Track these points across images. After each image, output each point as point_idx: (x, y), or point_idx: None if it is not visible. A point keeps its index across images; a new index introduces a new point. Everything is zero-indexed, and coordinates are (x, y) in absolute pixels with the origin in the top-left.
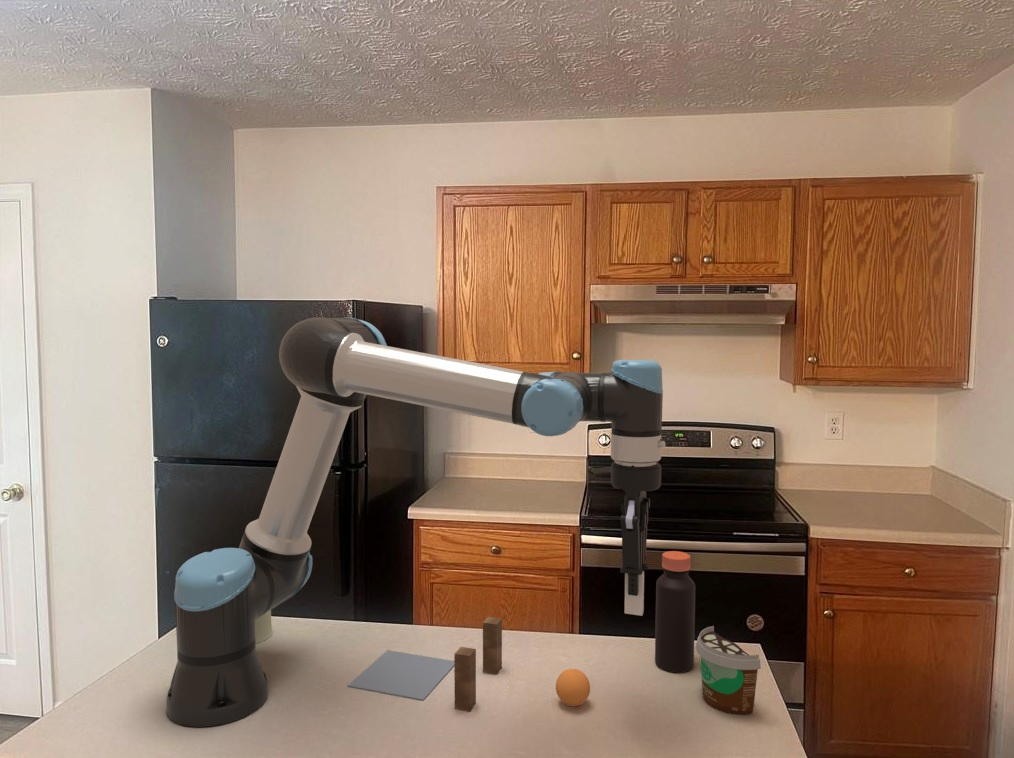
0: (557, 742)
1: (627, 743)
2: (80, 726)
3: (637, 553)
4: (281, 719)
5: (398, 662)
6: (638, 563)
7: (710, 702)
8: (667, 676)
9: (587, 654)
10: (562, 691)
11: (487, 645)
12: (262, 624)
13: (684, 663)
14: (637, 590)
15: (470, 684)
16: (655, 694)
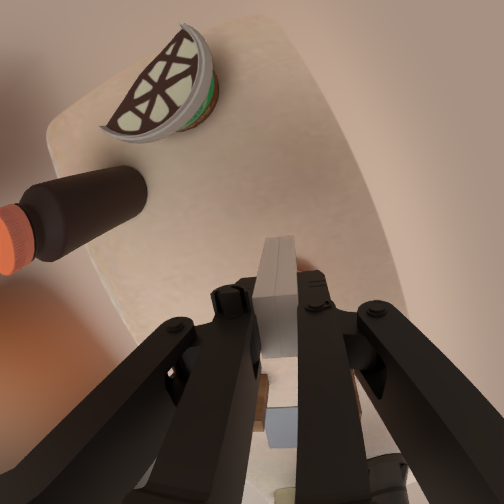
0: (382, 270)
1: (356, 192)
2: (409, 478)
3: (454, 373)
4: (392, 443)
5: (287, 437)
6: (421, 333)
7: (210, 111)
8: (158, 190)
9: (161, 303)
10: None
11: (265, 406)
12: (293, 497)
13: (132, 173)
14: (318, 278)
15: (354, 387)
16: (215, 190)
